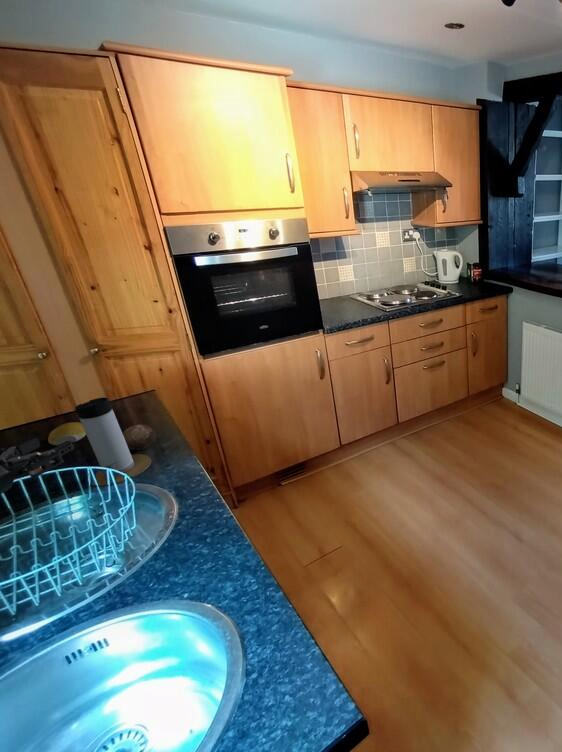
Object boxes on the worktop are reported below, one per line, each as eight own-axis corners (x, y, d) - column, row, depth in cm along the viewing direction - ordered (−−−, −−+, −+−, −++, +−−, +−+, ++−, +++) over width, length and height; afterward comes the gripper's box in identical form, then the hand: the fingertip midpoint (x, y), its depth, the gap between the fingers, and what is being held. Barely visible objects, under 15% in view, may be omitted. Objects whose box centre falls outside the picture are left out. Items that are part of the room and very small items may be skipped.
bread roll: (89, 427, 136) (84, 415, 135) (86, 440, 130) (80, 428, 128) (52, 435, 132) (47, 423, 130) (47, 449, 125) (41, 437, 124)
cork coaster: (80, 492, 109) (80, 490, 109) (94, 463, 119) (94, 462, 119) (146, 476, 115) (146, 474, 115) (154, 450, 125) (154, 449, 125)
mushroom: (115, 435, 126) (120, 420, 124) (150, 433, 133) (156, 420, 130) (118, 458, 123) (125, 443, 120) (154, 455, 129) (161, 441, 126)
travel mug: (114, 478, 113) (84, 409, 105) (98, 473, 115) (67, 404, 107) (141, 465, 118) (114, 397, 110) (124, 459, 120) (97, 393, 112)
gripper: (-55, 502, 89) (33, 454, 103) (9, 507, 87) (89, 458, 102) (-75, 470, 85) (19, 426, 100) (-9, 476, 84) (77, 430, 99)
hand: (54, 442), depth 101 cm, fingers open, 8 cm apart
